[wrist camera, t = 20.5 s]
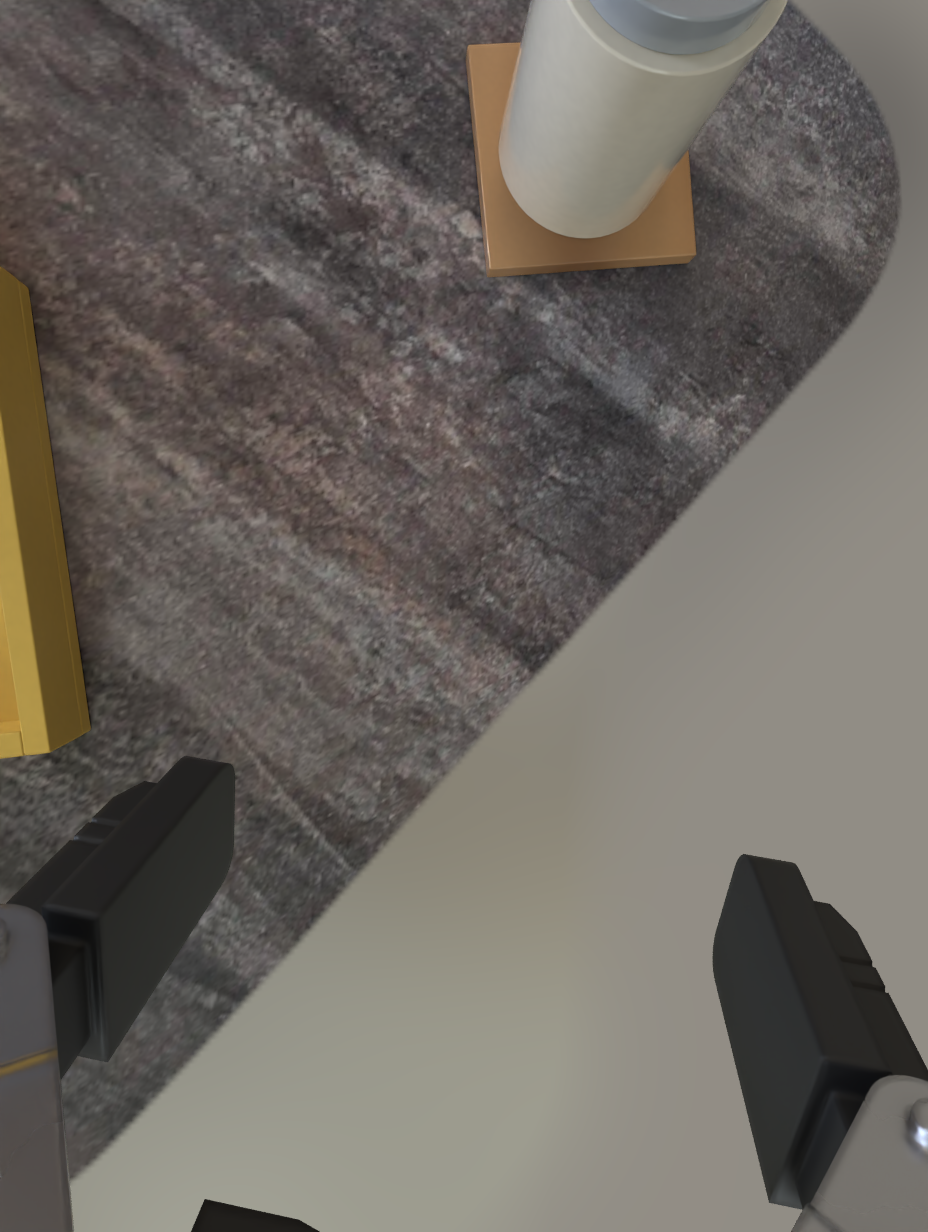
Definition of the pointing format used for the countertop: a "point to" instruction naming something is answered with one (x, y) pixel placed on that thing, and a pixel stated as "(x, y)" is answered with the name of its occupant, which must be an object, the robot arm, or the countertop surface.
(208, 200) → the countertop surface
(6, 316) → the tray
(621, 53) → the jar with grey lid
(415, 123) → the countertop surface
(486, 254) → the trivet
